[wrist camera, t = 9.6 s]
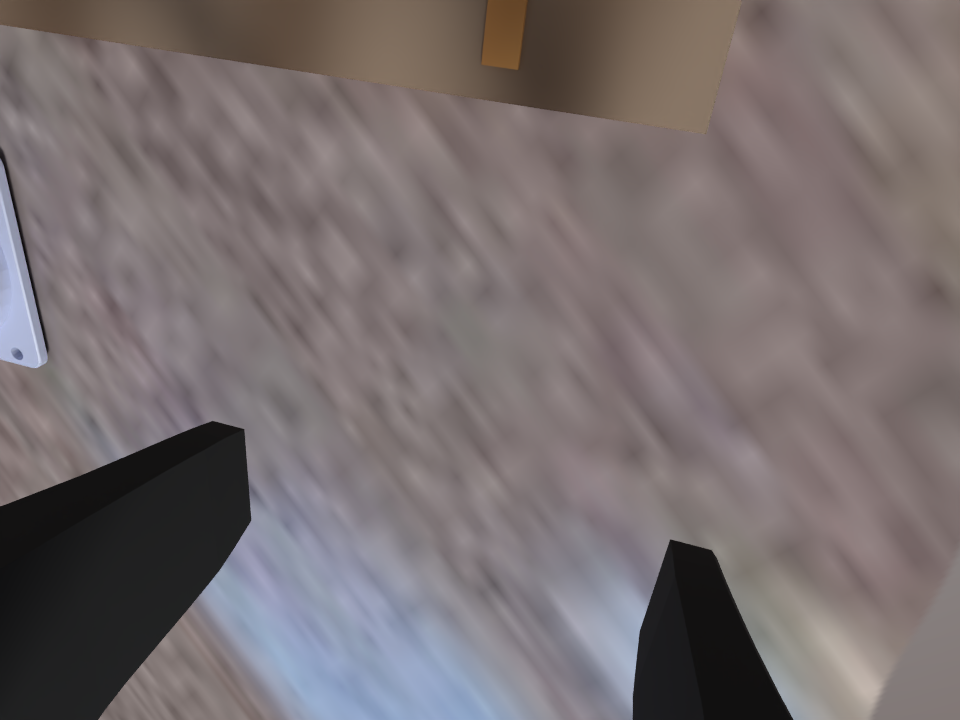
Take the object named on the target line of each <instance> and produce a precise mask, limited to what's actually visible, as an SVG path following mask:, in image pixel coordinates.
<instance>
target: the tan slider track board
mask: <svg viewBox="0 0 960 720" xmlns="http://www.w3.org/2000/svg"><path fill="white" fill-rule="evenodd" d="M741 2H742V0H0V25H6V26H13V27H19V28H26V29H32V30H38V31H45V32H51V33H58V34H64V35H71V36H77V37H84V38H90V39H96V40H103V41H109V42H116V43H122V44H129V45H135V46H141V47H148V48H154V49H161V50H167V51H174V52H180V53H187V54H193V55H199V56H206V57H212V58H219V59H225V60H232V61H238V62H244V63H251V64H257V65H264V66H270V67H277V68H283V69H289V70H296V71H302V72H309V73H315V74H322V75H328V76H335V77H341V78H347V79H354V80H360V81H367V82H373V83H380V84H386V85H392V86H399V87H405V88H412V89H418V90H425V91H431V92H438V93H444V94H450V95H457V96H463V97H470V98H476V99H483V100H489V101H495V102H502V103H508V104H515V105H521V106H528V107H534V108H540V109H547V110H553V111H560V112H566V113H573V114H579V115H586V116H592V117H598V118H605V119H611V120H618V121H624V122H631V123H637V124H643V125H650V126H656V127H663V128H669V129H676V130H682V131H689V132H695V133H701V134H706V133H707V129H708V125H709V122H710V118H711V114H712V110H713V107H714V103H715V99H716V96H717V92H718V88H719V84H720V81H721V77H722V73H723V69H724V66H725V62H726V58H727V54H728V51H729V47H730V43H731V40H732V36H733V32H734V28H735V25H736V21H737V17H738V13H739V10H740V6H741Z"/></svg>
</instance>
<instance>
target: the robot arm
mask: <svg viewBox="0 0 960 720" xmlns="http://www.w3.org/2000/svg"><path fill="white" fill-rule="evenodd" d="M0 359H1V360H4V361H8V362H12V363H16V364H20V365H23V366H27V367H31V368H37V367H39V366H41V365H43V364H45V363H46V362H47V360H48V358H47V351H46V347H45V342H44V338H43V334H42V329H41V325H40V321H39V316H38V312H37V308H36V303H35V299H34V295H33V290H32V286H31V282H30V277H29V273H28V269H27V264H26V260H25V256H24V251H23V247H22V243H21V238H20V234H19V230H18V225H17V221H16V217H15V212H14V208H13V204H12V199H11V195H10V191H9V186H8V182H7V178H6V173H5V169H4V165H3V163H2V160H1V159H0ZM250 522H251V511H250V498H249V485H248V472H247V459H246V446H245V433H244V429H242V428H238V427H234V426H230V425H226V424H222V423H218V422H214V421H211V422H209V423H206V424H203V425H200V426H198V427H195V428H192V429H190V430H187V431H185V432H183V433H180V434H178V435H175V436H173V437H171V438H168V439H166V440H163V441H161V442H159V443H156V444H154V445H152V446H149V447H147V448H145V449H142V450H140V451H138V452H135V453H133V454H131V455H128V456H126V457H124V458H121V459H119V460H117V461H114V462H112V463H109V464H107V465H105V466H102V467H100V468H98V469H95V470H93V471H91V472H88V473H86V474H83V475H81V476H79V477H76V478H73V479H71V480H68V481H66V482H63V483H60V484H58V485H55V486H53V487H50V488H48V489H45V490H42V491H40V492H37V493H35V494H32V495H29V496H27V497H24V498H22V499H19V500H16V501H14V502H11V503H9V504H6V505H3V506H0V720H98V719H99V718H100V716H101V715H102V713H103V712H104V710H105V709H106V708H107V706H108V705H109V704H110V703H111V701H112V700H113V699H114V697H115V696H116V695H117V694H118V692H119V691H120V690H121V688H122V687H123V686H124V685H125V683H126V682H127V681H128V680H129V679H130V677H131V676H132V675H133V674H134V673H135V671H136V670H137V669H138V668H139V667H140V665H141V664H142V663H143V662H144V661H145V659H146V658H147V657H148V656H149V655H150V654H151V652H152V651H153V650H154V649H155V648H156V646H157V645H158V644H159V643H160V642H161V640H162V639H163V638H164V637H165V636H166V634H167V633H168V632H169V631H170V630H171V629H172V627H173V626H174V625H175V624H176V623H177V621H178V620H179V619H180V618H181V617H182V615H183V614H184V613H185V612H186V611H187V610H188V608H189V607H190V606H191V605H192V603H193V602H194V601H195V600H196V599H197V597H198V596H199V595H200V594H201V593H202V591H203V590H204V589H205V588H206V586H207V585H208V584H209V583H210V582H211V580H212V579H213V578H214V577H215V575H216V574H217V573H218V572H219V570H220V569H221V567H222V566H223V564H224V563H225V561H226V560H227V558H228V557H229V555H230V554H231V552H232V551H233V549H234V548H235V546H236V544H237V543H238V541H239V539H240V538H241V536H242V535H243V533H244V531H245V530H246V528H247V526H248V525H249V523H250ZM633 720H793V718H792V716H791V715H790V713H789V711H788V709H787V707H786V705H785V703H784V702H783V700H782V698H781V696H780V694H779V692H778V690H777V688H776V686H775V684H774V682H773V680H772V678H771V676H770V674H769V672H768V671H767V669H766V667H765V665H764V663H763V661H762V659H761V657H760V655H759V653H758V651H757V649H756V647H755V645H754V642H753V640H752V638H751V636H750V634H749V632H748V630H747V628H746V625H745V623H744V621H743V619H742V617H741V614H740V612H739V610H738V608H737V606H736V603H735V601H734V599H733V596H732V594H731V592H730V589H729V587H728V585H727V582H726V580H725V577H724V575H723V573H722V570H721V568H720V565H719V563H718V560H717V558H716V556H715V555H714V553H713V552H712V550H709V549H705V548H701V547H697V546H694V545H690V544H686V543H682V542H678V541H674V540H670V542H669V545H668V548H667V551H666V554H665V557H664V560H663V563H662V566H661V569H660V572H659V575H658V578H657V581H656V584H655V587H654V590H653V593H652V596H651V599H650V602H649V605H648V608H647V611H646V614H645V617H644V620H643V623H642V626H641V629H640V635H639V644H638V653H637V662H636V671H635V681H634V691H633Z"/></svg>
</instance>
